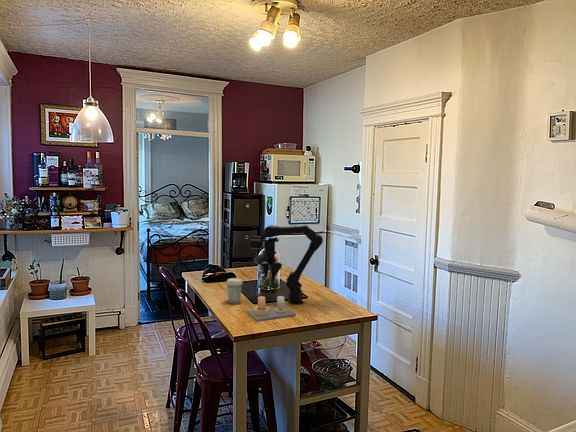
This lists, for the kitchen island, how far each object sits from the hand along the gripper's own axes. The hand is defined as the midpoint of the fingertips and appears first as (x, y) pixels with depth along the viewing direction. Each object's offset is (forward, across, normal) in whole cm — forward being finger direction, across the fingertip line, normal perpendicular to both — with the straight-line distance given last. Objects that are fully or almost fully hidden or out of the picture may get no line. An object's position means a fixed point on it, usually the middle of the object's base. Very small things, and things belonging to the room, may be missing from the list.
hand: (269, 278), depth 230 cm
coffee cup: (+12, -4, -18) cm, 22 cm away
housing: (+12, +21, -8) cm, 25 cm away
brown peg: (+11, +21, -13) cm, 27 cm away
